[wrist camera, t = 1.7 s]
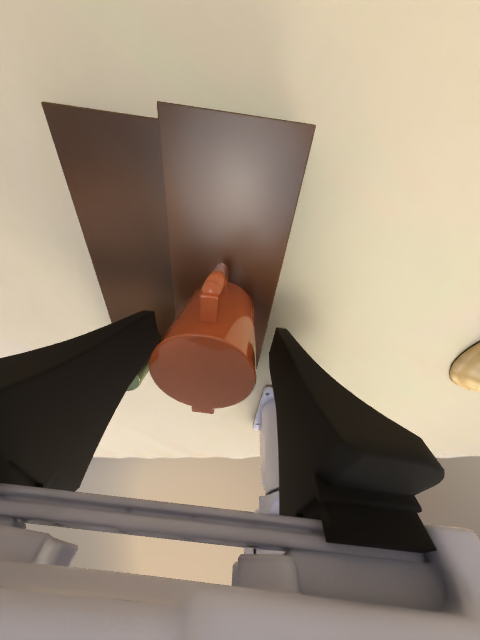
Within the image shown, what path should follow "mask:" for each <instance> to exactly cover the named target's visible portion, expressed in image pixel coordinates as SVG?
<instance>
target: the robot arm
mask: <svg viewBox="0 0 480 640" xmlns="http://www.w3.org/2000/svg"><path fill="white" fill-rule="evenodd" d="M158 340H159V336H158V330H157V323H156V317H155V311H147V310H143V311H140V312H137V313H135V314H133V315H130V316H128V317H126V318H123V319H121V320H119V321H116V322H114V323H112V324H109V325H107V326H104V327H102V328H99V329H97V330H94V331H92V332H89V333H87V334H84V335H81V336H78V337H76V338H73V339H70V340H67V341H63V342H60V343H57V344H54V345H50V346H47V347H43V348H39V349H36V350H32V351H28V352H25V353H21V354H17V355H12V356H8V357H4V358H0V640H480V540H479V538H478V537H477V535H476V534H475V532H473V531H472V530H470V529H468V528H460V527H451V526H442V525H423V523H422V521H421V520H420V518H419V516H418V514H417V512H418V513H419V512H421V511H422V509H421V506H420V505H419V503H418V501H417V499H416V498H415V496H414V495H416V494H419V493H420V492H423V491H425V490H427V489H429V488H431V487H433V486H435V485H437V484H438V483H440V482H441V481H442V480H443V478H444V469H443V468H442V466H441V465H440V463H439V462H438V461H437V459H436V458H435V457H434V455H433V454H432V452H431V451H430V450H429V448H428V447H427V446H426V444H425V443H424V442H423V440H422V439H421V438H420V437H418V436H417V435H415V434H413V433H412V432H410V431H409V430H407V429H405V428H404V427H402V426H400V425H399V424H397V423H395V422H394V421H392V420H390V419H389V418H387V417H385V416H384V415H382V414H381V413H379V412H378V411H376V410H375V409H373V408H372V407H370V406H369V405H367V404H366V403H365V402H363V401H362V400H360V399H359V398H357V397H356V396H355V395H353V394H352V393H351V392H350V391H348V390H347V389H346V388H344V387H343V386H342V385H341V384H339V383H338V382H337V381H336V380H335V379H333V378H332V377H331V376H330V375H329V374H328V373H327V372H325V371H324V370H323V369H322V368H321V367H320V366H319V365H318V364H317V363H316V362H315V361H314V360H313V359H312V358H311V357H310V356H309V355H308V354H307V352H306V351H305V350H304V349H303V348H302V347H301V346H300V344H299V343H298V342H297V341H296V340H295V338H294V337H293V336H292V335H291V334H290V332H289V331H288V330H287V329H283V328H276V330H275V334H274V337H273V341H272V345H271V348H270V352H269V368H270V375H271V381H272V387H270V386H267V387H265V388H264V390H263V393H262V397H261V400H260V403H259V407H258V410H257V413H256V417H255V420H254V423H253V429H255V430H260V455H261V478H262V484H263V487H264V490H265V493H266V494H265V495H266V496H260V497H259V509H257V510H256V511H255V512H247V511H237V510H229V509H220V508H212V507H203V506H195V505H186V504H177V503H168V502H160V501H151V500H143V499H133V498H125V497H116V496H108V495H99V494H91V493H82V492H75V491H76V490H77V489H78V488H79V487H80V485H81V482H82V480H83V478H84V475H85V473H86V471H87V468H88V466H89V464H90V462H91V459H92V457H93V455H94V453H95V450H96V448H97V446H98V444H99V442H100V440H101V438H102V436H103V434H104V432H105V430H106V428H107V426H108V424H109V422H110V420H111V418H112V416H113V414H114V412H115V410H116V408H117V407H118V405H119V403H120V401H121V399H122V398H123V396H124V394H125V392H126V391H127V389H128V387H129V386H130V384H131V383H132V382H133V380H134V379H135V377H136V376H137V374H138V373H139V371H140V370H141V369H142V367H143V366H144V364H145V363H146V361H147V360H148V358H149V357H150V355H151V353H152V351H153V350H154V348H155V346H156V344H157V342H158ZM25 523H30V524H39V525H48V526H57V527H66V528H75V529H83V530H92V531H102V532H110V533H119V534H128V535H137V536H146V537H156V538H164V539H172V540H181V541H190V542H191V541H192V542H199V543H208V544H217V545H226V546H235V547H244V554H241V555H240V556H239V558H238V562H235V563H234V565H233V574H232V586H228V585H220V584H212V583H204V582H196V581H188V580H180V579H172V578H164V577H156V576H147V575H139V574H130V573H121V572H113V571H103V570H93V569H85V568H76V567H69V566H70V564H71V562H72V560H73V558H74V556H75V554H76V552H77V550H78V546H77V545H75V544H71V543H68V542H64V541H62V540H59V539H57V538H54V537H52V536H51V535H49V534H48V533H43V532H37V531H32V530H27V529H26V525H25Z"/></svg>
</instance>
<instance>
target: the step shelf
mask: <svg viewBox="0 0 480 640" xmlns="http://www.w3.org/2000/svg"><path fill="white" fill-rule="evenodd" d="M41 104H42V107H43V110H44V113H45V116H46V119H47V122H48V125H49V129H50V132H51V135H52V138H53V141H54V144H55V147H56V150H57V154H58V157H59V160H60V163H61V166H62V169H63V172H64V175H65V179H66V182H67V185H68V188H69V191H70V194H71V197H72V200H73V203H74V207H75V210H76V213H77V216H78V219H79V222H80V225H81V228H82V232H83V235H84V238H85V241H86V244H87V247H88V250H89V253H90V256H91V260H92V263H93V266H94V269H95V272H96V275H97V278H98V281H99V285H100V288H101V291H102V294H103V297H104V300H105V303H106V306H107V310H108V313H109V316H110V319H111V322H112V323H114V322H116V321H119V320H121V319H123V318H126V317H128V316H130V315H133V314H135V313H137V312H140V311H143V310H147V311H155V317H156V323H157V330H158V333H159V334H160V335H161V337H163V335H164V334H165V333H166V331H167V330H168V328H169V327H170V325H171V324H172V323H173V321H174V320H175V318H176V317H177V316H178V314H179V313H180V311H181V310H182V308H183V307H184V306H185V304H186V303H187V301H188V300H189V299H190V297H191V296H192V294H193V293H194V292H195V290H196V289H197V288H199V287H200V286H201V285H203V284H204V282H205V281H206V279H207V278H208V276H209V275H210V273H211V272H212V270H213V269H214V267H215V266H216V265H217V264H220V263H222V264H225V265H226V266H227V267H228V270H229V272H228V282H230V283H233V284H235V285H237V286H239V287H241V288H242V289H243V290H244V291H245V292H246V293H247V294H248V295H249V296H250V298H251V300H252V302H253V304H254V309H255V344H256V369H257V365H258V361H259V357H260V353H261V349H262V345H263V341H264V336H265V332H266V328H267V324H268V320H269V316H270V312H271V308H272V304H273V300H274V296H275V291H276V287H277V283H278V279H279V275H280V271H281V267H282V263H283V259H284V255H285V251H286V246H287V242H288V238H289V234H290V230H291V226H292V222H293V218H294V214H295V210H296V206H297V201H298V197H299V193H300V189H301V185H302V181H303V177H304V173H305V169H306V165H307V161H308V156H309V152H310V148H311V144H312V140H313V136H314V132H315V128H316V125H313V124H307V123H300V122H293V121H287V120H280V119H273V118H267V117H260V116H253V115H247V114H240V113H233V112H227V111H220V110H213V109H207V108H200V107H193V106H186V105H180V104H173V103H166V102H160V101H157V110H158V119H157V118H150V117H144V116H137V115H130V114H124V113H117V112H110V111H103V110H97V109H90V108H83V107H76V106H70V105H63V104H56V103H49V102H41Z"/></svg>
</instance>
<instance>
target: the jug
mask: <svg viewBox="0 0 480 640" xmlns="http://www.w3.org/2000/svg"><path fill="white" fill-rule="evenodd" d="M228 272H229V270H228V267H227V266H226V265H225V264H222V263H220V264H217V265H216V266H215V267H214V269H213V270H212V272H211V273H210V275H209V276H208V278H207V279H206V281H205V282H204V284H203V285H201V286H200V287H199V288H197V289H196V290H195V292H194V293H193V294H192V296H191V297H190V299H189V300H188V301H187V303H186V304H185V306H184V307H183V308H182V310H181V311H180V313H179V314H178V316H177V317H176V318H175V320H174V321H173V323H172V324H171V325H170V327H169V328H168V330H167V331H166V333H165V334H164V335H163V337H162V338H161V340H160V341H159V343H158V344H157V345H156V347H155V348H154V350H153V351H152V353H151V355H150V359H149V371H150V374H151V376H152V378H153V380H154V382H155V383H156V385H157V386H158V387H159V388H160V389H161V390H162V391H163V392H164V393H166V394H167V395H168V396H170V397H172V398H173V399H175V400H177V401H179V402H182V403H184V404H187V405H190V406H192V411H193V412H201V413H209V414H213V413H214V409H215V408H224V407H229V406H232V405H235V404H237V403H239V402H241V401H243V400H244V399H245V398H246V397H248V396H249V394H250V393H251V392H252V390H253V389H254V386H255V383H256V344H255V309H254V304H253V302H252V300H251V298H250V296H249V295H248V294H247V293H246V292H245V291H244V290H243V289H242V288H241V287H239V286H237V285H235V284H233V283H230V282H228Z"/></svg>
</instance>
